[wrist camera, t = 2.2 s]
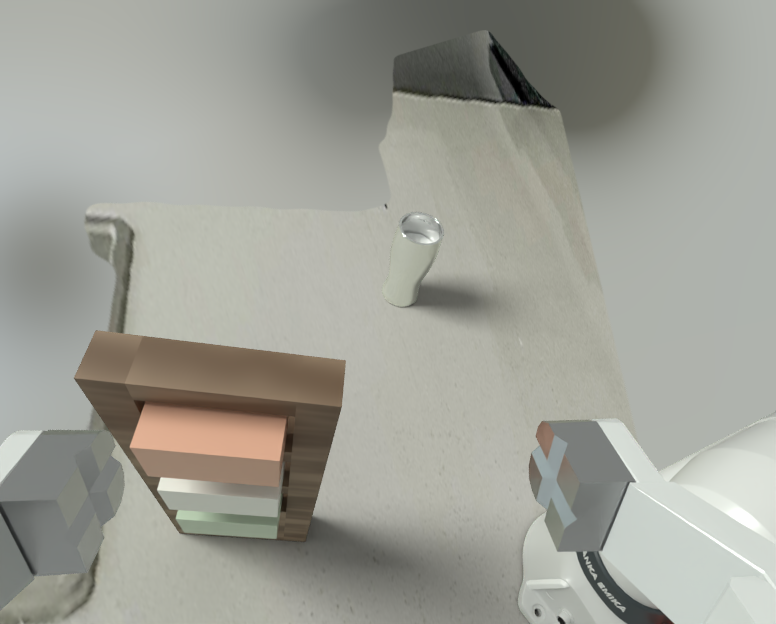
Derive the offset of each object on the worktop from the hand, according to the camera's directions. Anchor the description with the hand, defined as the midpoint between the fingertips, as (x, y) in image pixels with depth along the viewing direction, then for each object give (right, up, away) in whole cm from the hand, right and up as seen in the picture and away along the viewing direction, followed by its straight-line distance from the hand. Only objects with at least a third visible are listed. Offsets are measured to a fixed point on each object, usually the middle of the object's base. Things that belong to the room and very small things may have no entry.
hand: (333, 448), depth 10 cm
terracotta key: (-10, -6, +23) cm, 25 cm away
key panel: (-15, -22, +47) cm, 54 cm away
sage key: (-13, -16, +35) cm, 41 cm away
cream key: (-11, -11, +29) cm, 33 cm away
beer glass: (+3, +6, +72) cm, 72 cm away
